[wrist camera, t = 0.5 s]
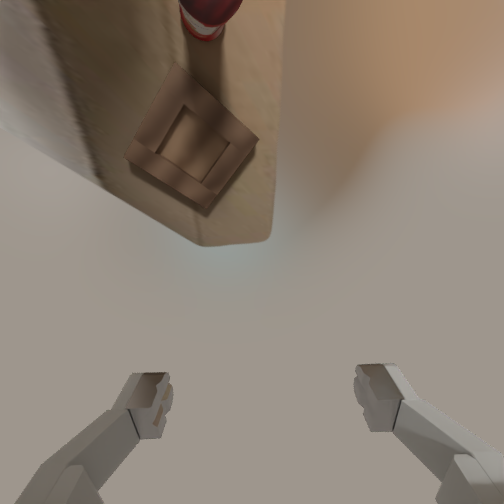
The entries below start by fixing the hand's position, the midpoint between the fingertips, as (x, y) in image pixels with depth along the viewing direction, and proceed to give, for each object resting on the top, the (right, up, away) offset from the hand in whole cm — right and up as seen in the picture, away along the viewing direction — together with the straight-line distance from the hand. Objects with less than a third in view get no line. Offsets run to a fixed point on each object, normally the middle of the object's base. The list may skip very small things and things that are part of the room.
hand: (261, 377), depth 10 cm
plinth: (-12, +27, +37) cm, 48 cm away
